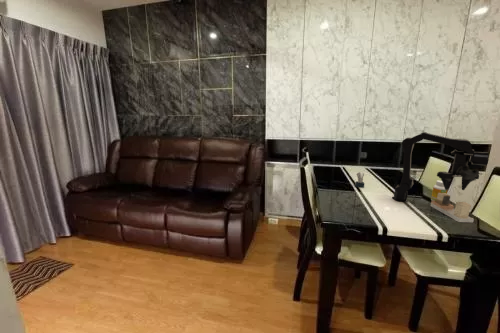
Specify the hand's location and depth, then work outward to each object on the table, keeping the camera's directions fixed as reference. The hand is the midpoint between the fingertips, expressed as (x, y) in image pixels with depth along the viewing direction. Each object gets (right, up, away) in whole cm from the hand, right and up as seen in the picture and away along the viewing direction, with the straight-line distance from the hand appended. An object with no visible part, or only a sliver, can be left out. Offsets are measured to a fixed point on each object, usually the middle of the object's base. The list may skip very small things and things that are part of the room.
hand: (454, 189), depth 132 cm
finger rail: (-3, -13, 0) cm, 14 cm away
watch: (-34, -2, +43) cm, 55 cm away
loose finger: (-3, -10, +6) cm, 11 cm away
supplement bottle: (+5, -9, +18) cm, 21 cm away
